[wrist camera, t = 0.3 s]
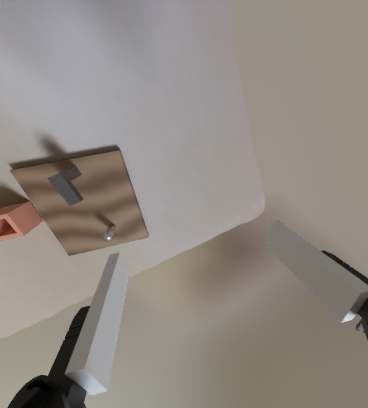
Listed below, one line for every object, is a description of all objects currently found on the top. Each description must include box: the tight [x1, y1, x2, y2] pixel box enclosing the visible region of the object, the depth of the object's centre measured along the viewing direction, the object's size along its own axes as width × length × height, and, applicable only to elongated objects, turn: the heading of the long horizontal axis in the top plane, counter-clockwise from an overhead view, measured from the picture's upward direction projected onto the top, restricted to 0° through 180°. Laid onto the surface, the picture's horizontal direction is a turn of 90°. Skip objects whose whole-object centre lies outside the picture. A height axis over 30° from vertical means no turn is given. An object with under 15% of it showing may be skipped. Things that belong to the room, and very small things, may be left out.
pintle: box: [103, 224, 116, 242], centre depth 38 cm, size 2×2×6 cm
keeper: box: [47, 166, 83, 206], centre depth 31 cm, size 6×2×7 cm, turn 19°
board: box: [10, 150, 149, 256], centre depth 37 cm, size 24×22×1 cm
